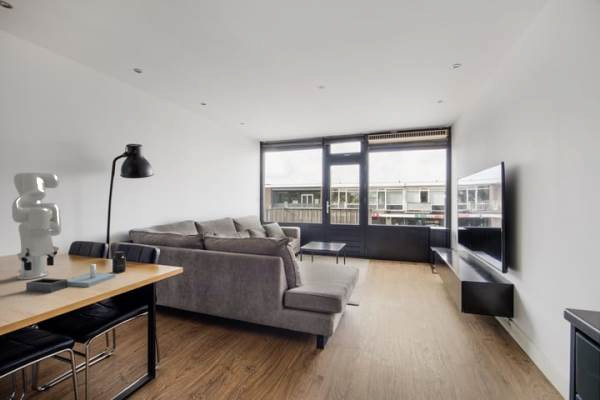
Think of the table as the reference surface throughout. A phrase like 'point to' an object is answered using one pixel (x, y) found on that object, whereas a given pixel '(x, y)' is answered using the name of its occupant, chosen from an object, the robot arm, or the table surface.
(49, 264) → the robot arm
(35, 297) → the table surface
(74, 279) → the board
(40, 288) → the dark gray open box
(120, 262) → the supplement bottle
